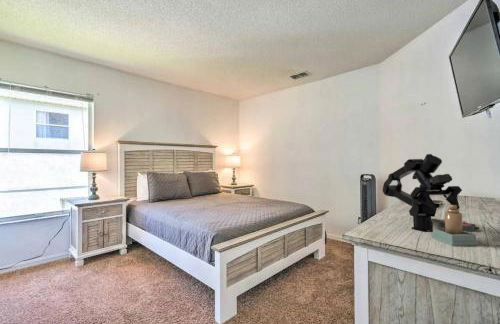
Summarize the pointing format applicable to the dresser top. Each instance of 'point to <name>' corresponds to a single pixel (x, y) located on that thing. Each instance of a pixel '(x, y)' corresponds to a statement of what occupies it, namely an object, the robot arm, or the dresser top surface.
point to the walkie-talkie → (465, 226)
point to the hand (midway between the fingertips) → (447, 209)
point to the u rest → (455, 238)
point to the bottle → (453, 221)
